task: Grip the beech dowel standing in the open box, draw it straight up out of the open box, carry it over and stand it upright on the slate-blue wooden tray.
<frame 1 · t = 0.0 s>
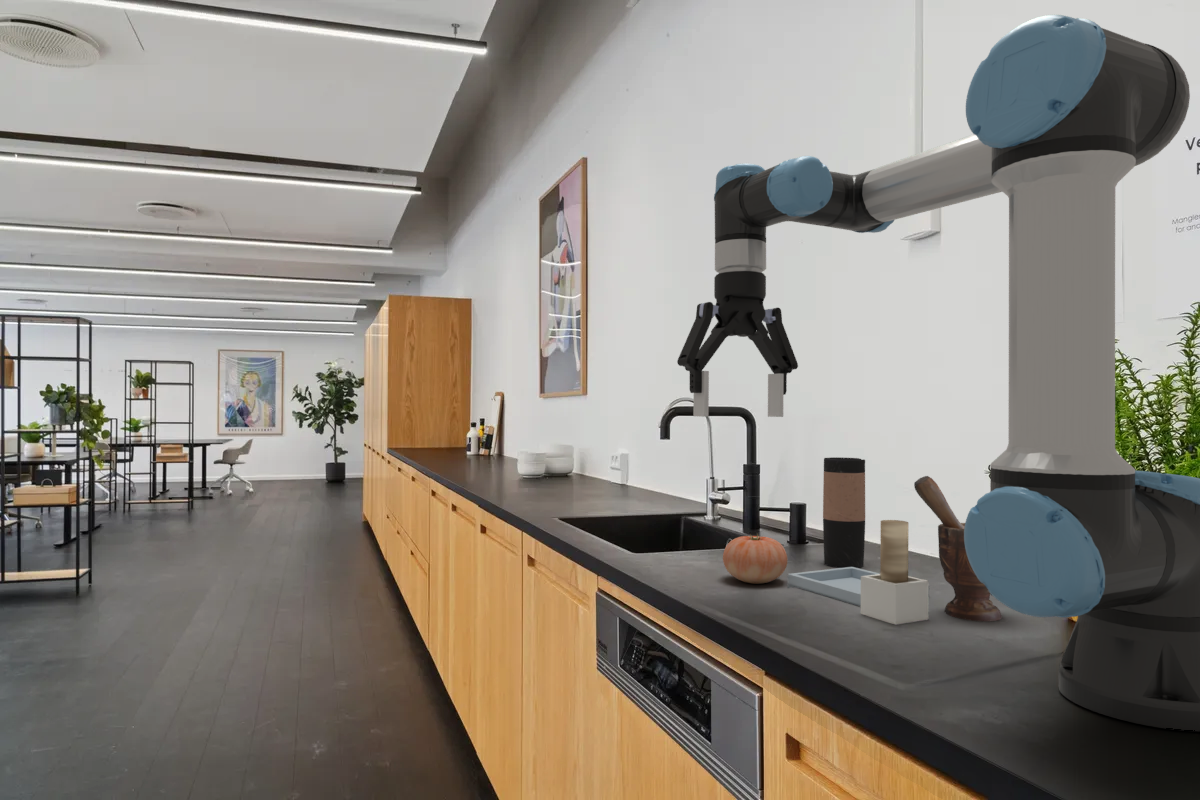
hand: (739, 416, 118), 28 cm above the countertop, fingers open, 13 cm apart
mortar and pestle: (961, 621, 111), on the countertop
open box: (894, 622, 110), on the countertop
dowel: (894, 616, 110), point 1 cm above the countertop, touching open box
tray: (856, 595, 125), on the countertop
pumpkin: (754, 582, 135), on the countertop
travel mug: (843, 565, 151), on the countertop
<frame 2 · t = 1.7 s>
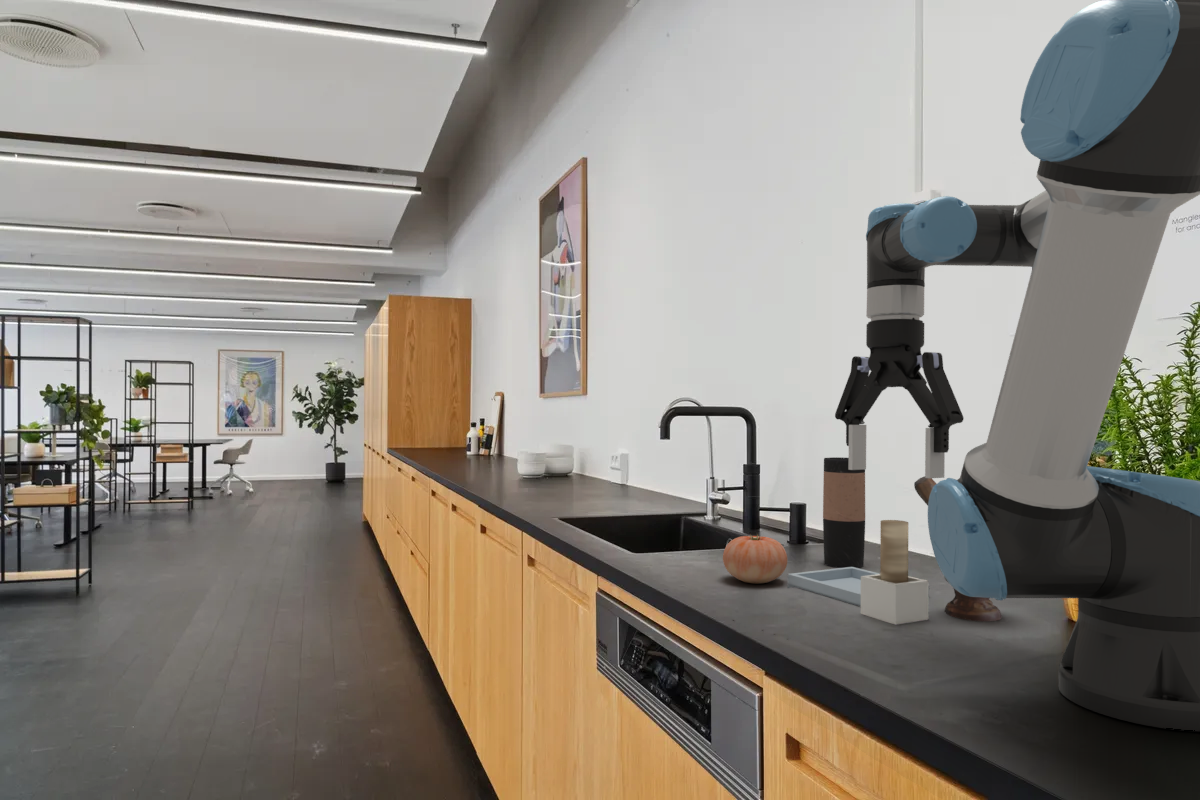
hand: (893, 473, 110), 20 cm above the countertop, fingers open, 13 cm apart
nothing on the countertop moved.
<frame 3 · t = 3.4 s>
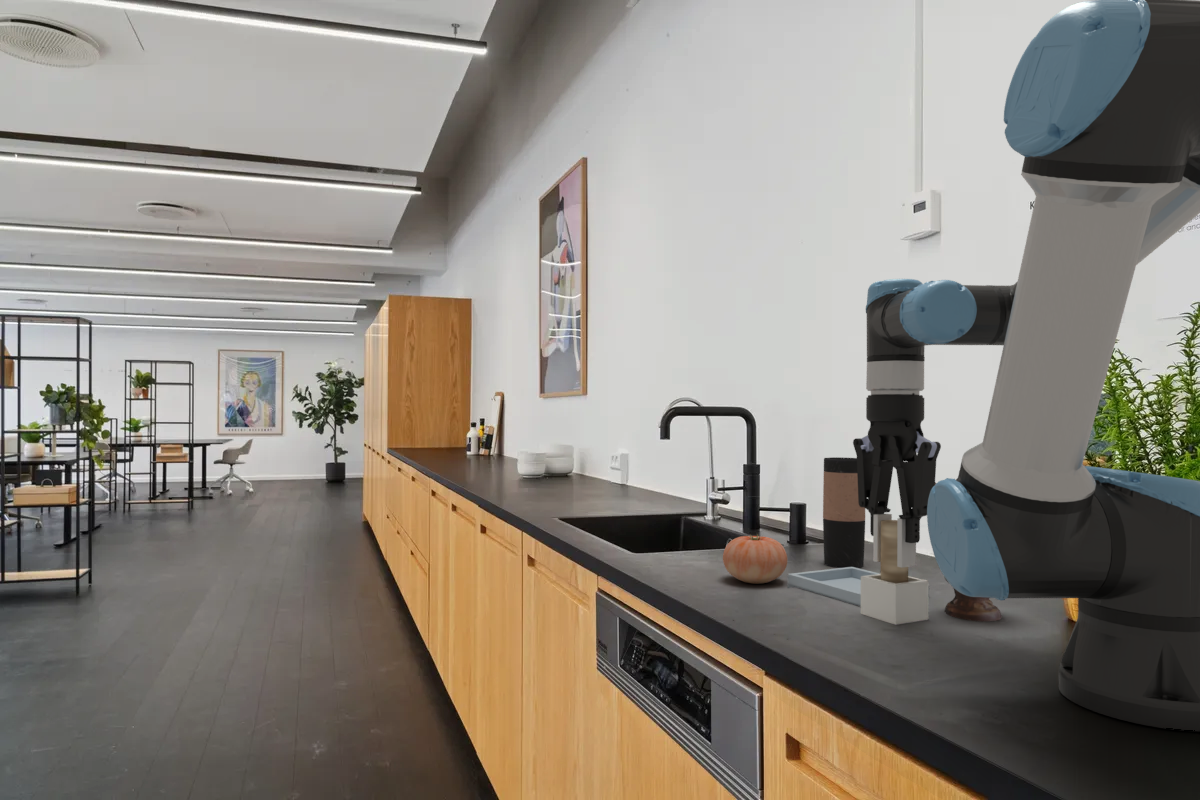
hand: (894, 563, 110), 8 cm above the countertop, fingers closed on dowel, 3 cm apart
dowel: (894, 616, 110), point 1 cm above the countertop, touching open box, gripper
everything else where it was.
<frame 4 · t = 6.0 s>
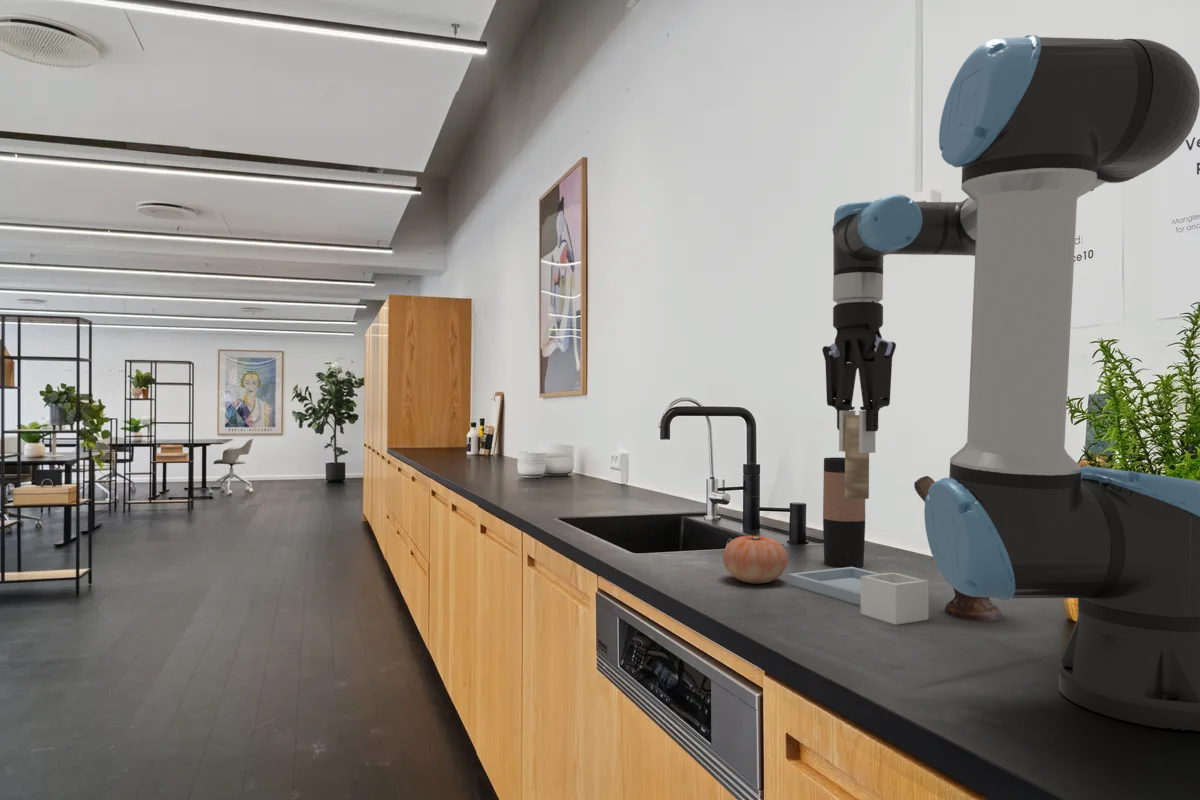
hand: (857, 451, 126), 23 cm above the countertop, fingers closed on dowel, 3 cm apart
dowel: (856, 497, 126), point 15 cm above the countertop, touching gripper
everything else where it was.
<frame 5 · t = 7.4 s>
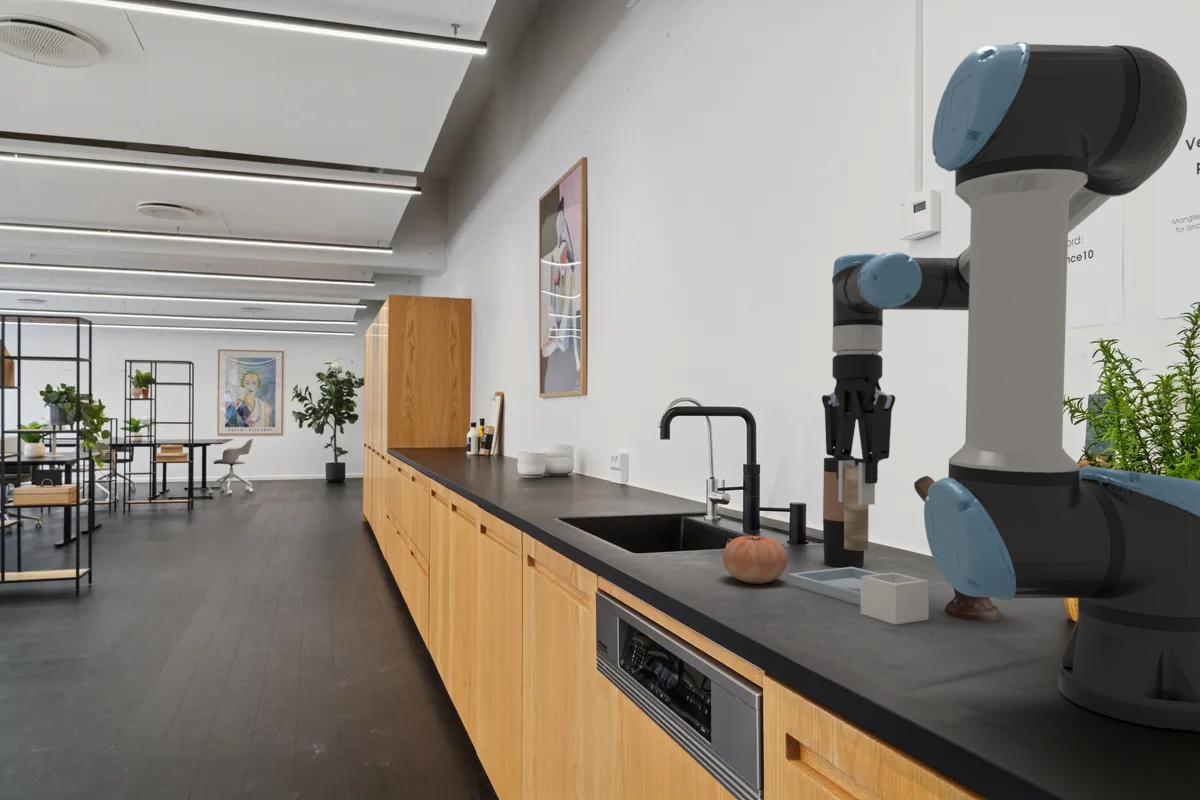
hand: (856, 502, 126), 15 cm above the countertop, fingers closed on dowel, 3 cm apart
dowel: (856, 548, 126), point 7 cm above the countertop, touching gripper
everything else where it was.
when the fingers open (9 cm above the countertop, at t = 8.6 s): dowel stays where it is, resting on tray.
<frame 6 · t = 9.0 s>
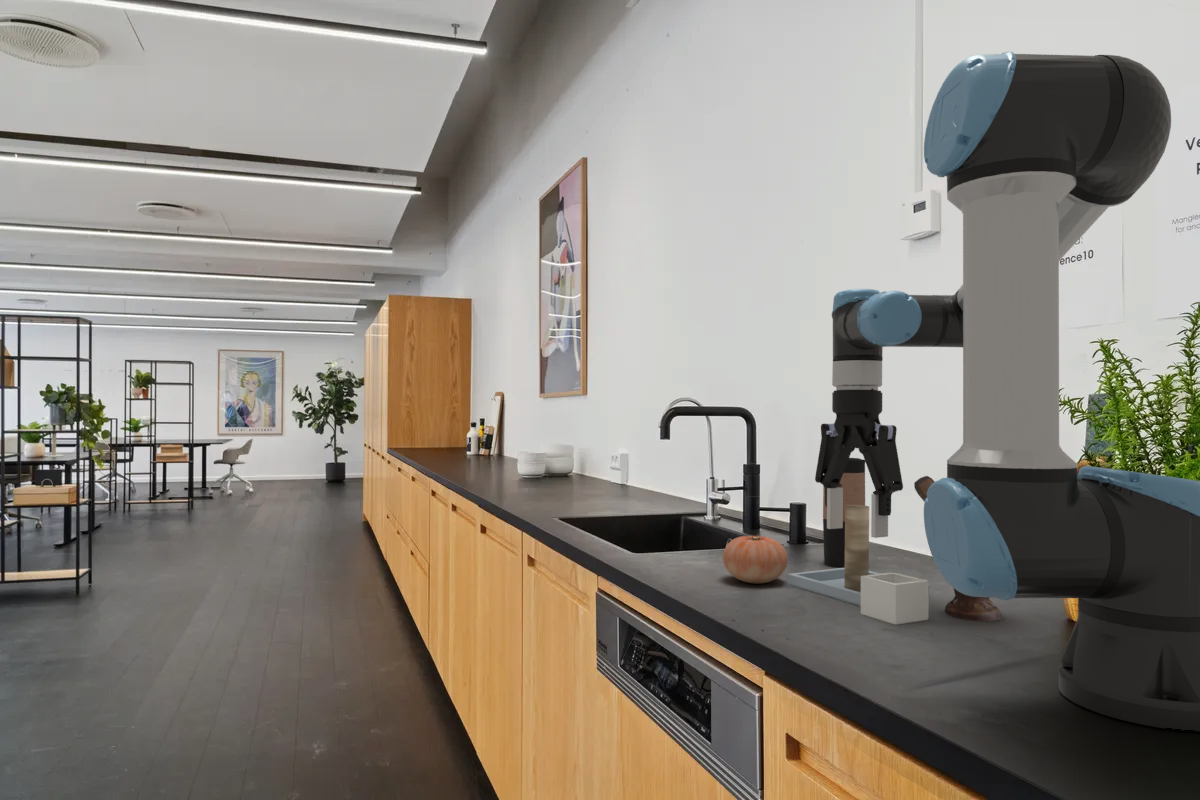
hand: (856, 532, 126), 10 cm above the countertop, fingers open, 9 cm apart
dowel: (856, 589, 125), point 1 cm above the countertop, touching tray
everything else where it was.
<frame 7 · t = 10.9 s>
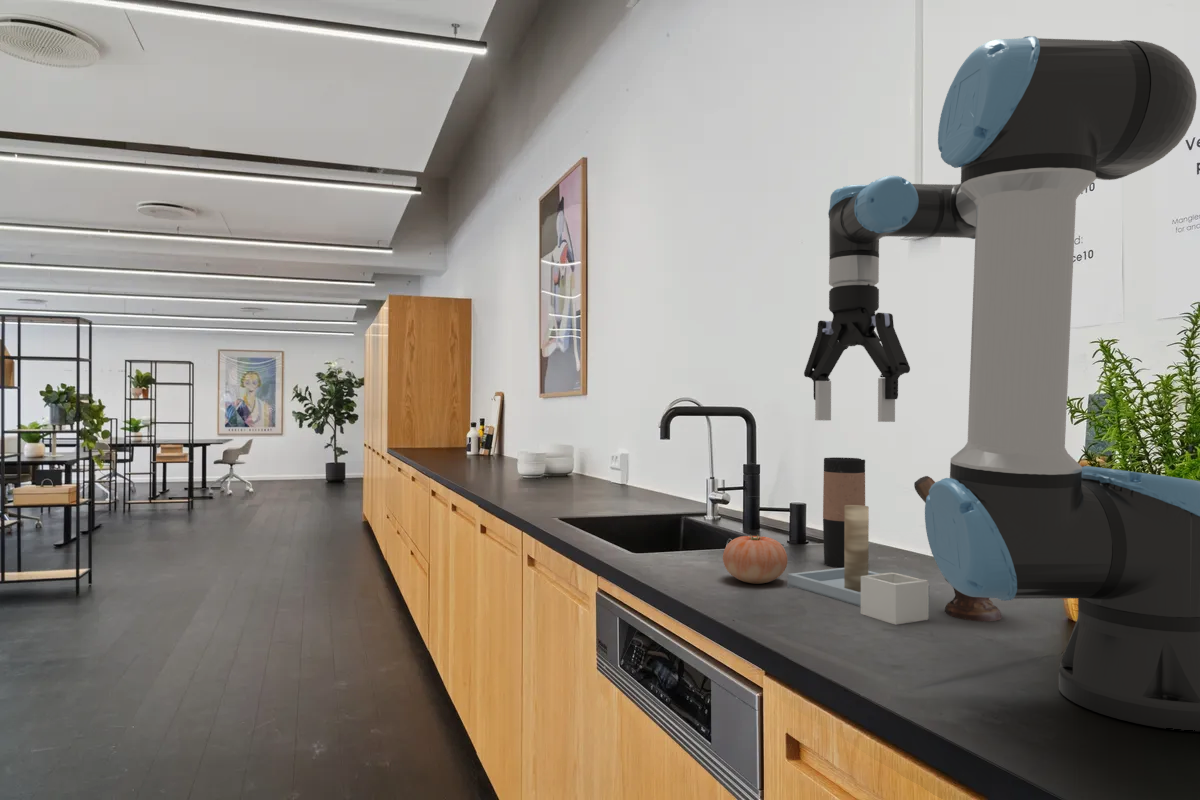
hand: (853, 421, 126), 27 cm above the countertop, fingers open, 13 cm apart
nothing on the countertop moved.
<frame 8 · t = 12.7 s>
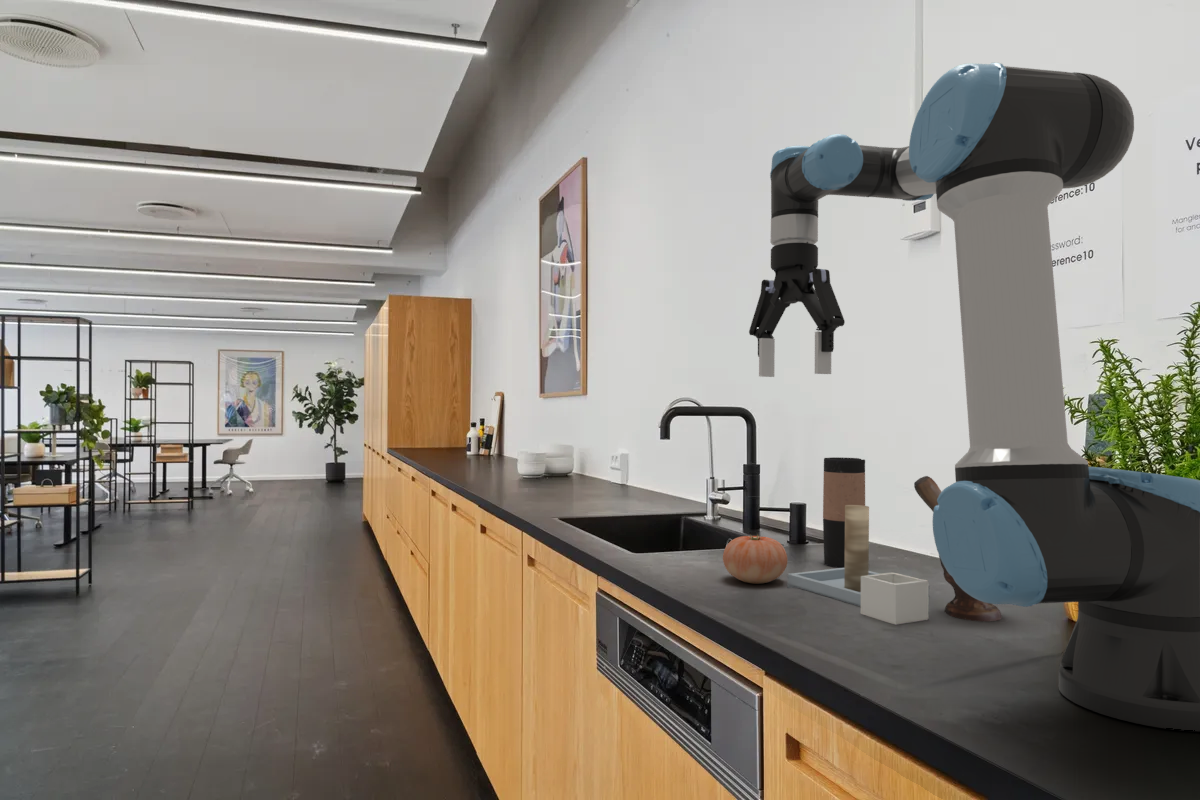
hand: (793, 375, 130), 35 cm above the countertop, fingers open, 13 cm apart
nothing on the countertop moved.
at the end: dowel inside the target area on the tray (0.0 cm from its centre), point 1.0 cm above the tray's base; dowel tilted 0°; the gripper is holding nothing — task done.
